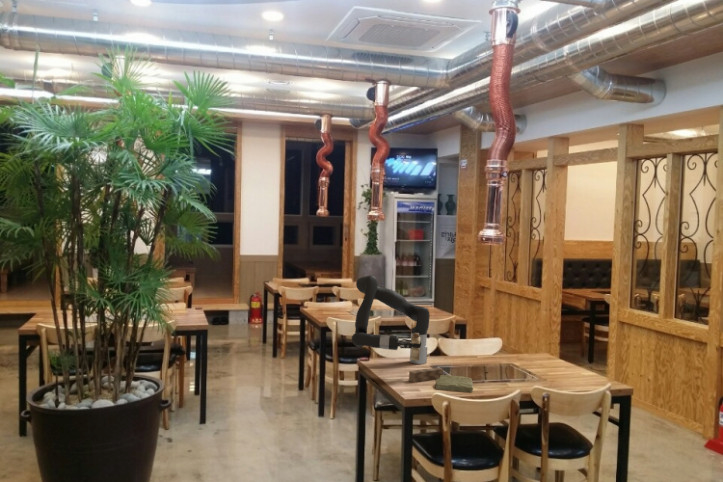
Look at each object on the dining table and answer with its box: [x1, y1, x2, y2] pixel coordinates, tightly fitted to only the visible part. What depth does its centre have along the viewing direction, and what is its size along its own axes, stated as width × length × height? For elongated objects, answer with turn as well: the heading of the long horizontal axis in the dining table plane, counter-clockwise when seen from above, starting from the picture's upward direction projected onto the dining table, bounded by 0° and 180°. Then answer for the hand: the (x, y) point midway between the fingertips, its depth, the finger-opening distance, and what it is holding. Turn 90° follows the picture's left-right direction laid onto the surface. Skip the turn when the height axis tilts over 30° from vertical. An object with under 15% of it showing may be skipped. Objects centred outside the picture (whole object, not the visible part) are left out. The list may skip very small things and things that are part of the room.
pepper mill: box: [410, 333, 420, 361], centre depth 336 cm, size 5×5×14 cm
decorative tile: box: [435, 374, 474, 393], centre depth 324 cm, size 19×20×4 cm
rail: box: [408, 367, 444, 383], centre depth 334 cm, size 20×4×5 cm, turn 125°
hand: (420, 345), depth 336 cm, fingers closed on pepper mill, 4 cm apart
